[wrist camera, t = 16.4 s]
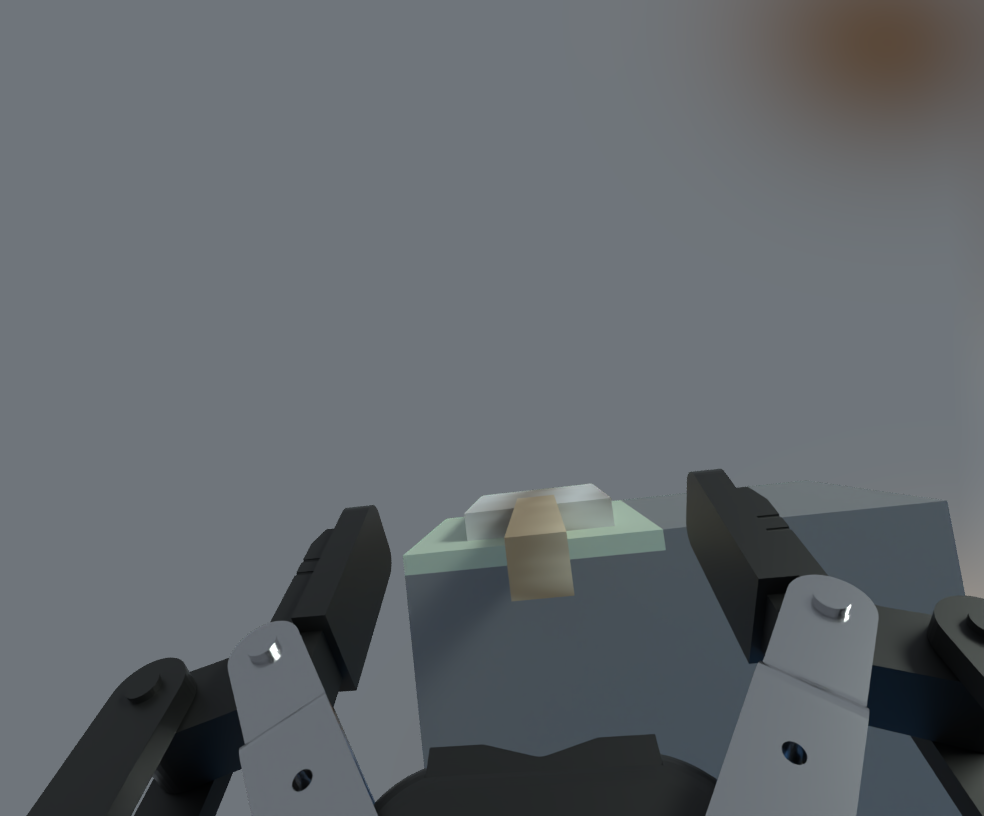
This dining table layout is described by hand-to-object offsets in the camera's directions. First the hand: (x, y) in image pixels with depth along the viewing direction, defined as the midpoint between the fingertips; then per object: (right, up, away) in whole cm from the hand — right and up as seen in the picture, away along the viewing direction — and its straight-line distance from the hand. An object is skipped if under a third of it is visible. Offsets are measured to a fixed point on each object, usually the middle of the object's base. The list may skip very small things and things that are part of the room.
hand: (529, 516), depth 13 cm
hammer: (+2, -4, +14) cm, 14 cm away
